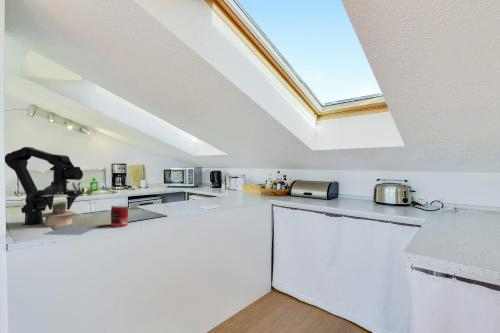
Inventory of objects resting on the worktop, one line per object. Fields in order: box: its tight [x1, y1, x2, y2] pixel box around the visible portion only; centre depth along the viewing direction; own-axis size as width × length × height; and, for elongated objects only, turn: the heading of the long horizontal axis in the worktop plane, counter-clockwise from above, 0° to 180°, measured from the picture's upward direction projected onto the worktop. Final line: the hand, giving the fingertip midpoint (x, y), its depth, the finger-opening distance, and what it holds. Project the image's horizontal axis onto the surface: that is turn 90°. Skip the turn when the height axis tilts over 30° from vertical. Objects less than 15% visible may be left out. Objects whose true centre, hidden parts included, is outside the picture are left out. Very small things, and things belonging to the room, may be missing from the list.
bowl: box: [44, 216, 73, 228], centre depth 133 cm, size 10×10×5 cm
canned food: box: [110, 203, 129, 228], centre depth 133 cm, size 8×8×11 cm
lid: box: [42, 202, 77, 219], centre depth 133 cm, size 14×14×6 cm
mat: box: [42, 225, 100, 236], centre depth 122 cm, size 16×16×1 cm
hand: (59, 209), depth 133 cm, fingers open, 8 cm apart
